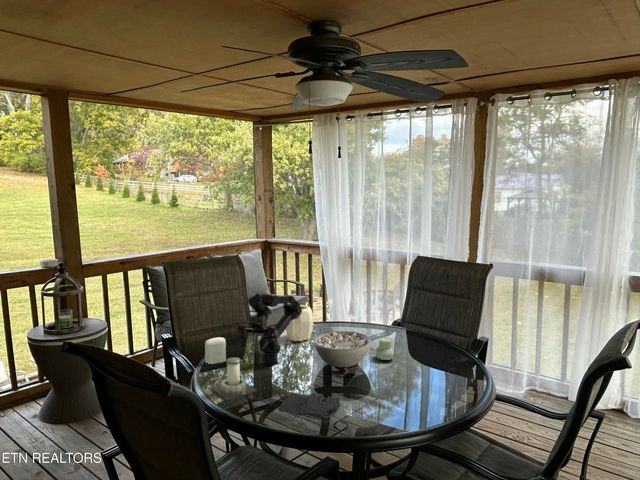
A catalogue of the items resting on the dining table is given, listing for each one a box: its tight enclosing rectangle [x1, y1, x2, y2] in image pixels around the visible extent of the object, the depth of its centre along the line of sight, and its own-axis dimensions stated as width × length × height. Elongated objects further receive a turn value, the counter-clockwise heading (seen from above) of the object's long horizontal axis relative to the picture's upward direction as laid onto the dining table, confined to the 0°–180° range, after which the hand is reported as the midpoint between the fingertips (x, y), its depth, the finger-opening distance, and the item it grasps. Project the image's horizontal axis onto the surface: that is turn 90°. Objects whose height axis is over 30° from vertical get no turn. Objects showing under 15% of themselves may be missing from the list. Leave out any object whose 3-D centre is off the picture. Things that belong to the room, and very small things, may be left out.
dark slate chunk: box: [279, 392, 341, 419], centre depth 171 cm, size 15×22×5 cm
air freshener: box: [375, 337, 395, 361], centre depth 223 cm, size 11×8×10 cm
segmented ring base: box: [210, 377, 258, 402], centre depth 185 cm, size 14×14×4 cm
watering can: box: [285, 301, 314, 342], centre depth 254 cm, size 16×27×19 cm, turn 163°
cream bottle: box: [225, 357, 241, 386], centre depth 184 cm, size 6×6×12 cm
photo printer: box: [204, 336, 227, 365], centre depth 216 cm, size 10×4×12 cm, turn 123°
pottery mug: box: [343, 362, 360, 374], centre depth 205 cm, size 12×10×8 cm
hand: (252, 348), depth 197 cm, fingers open, 9 cm apart
